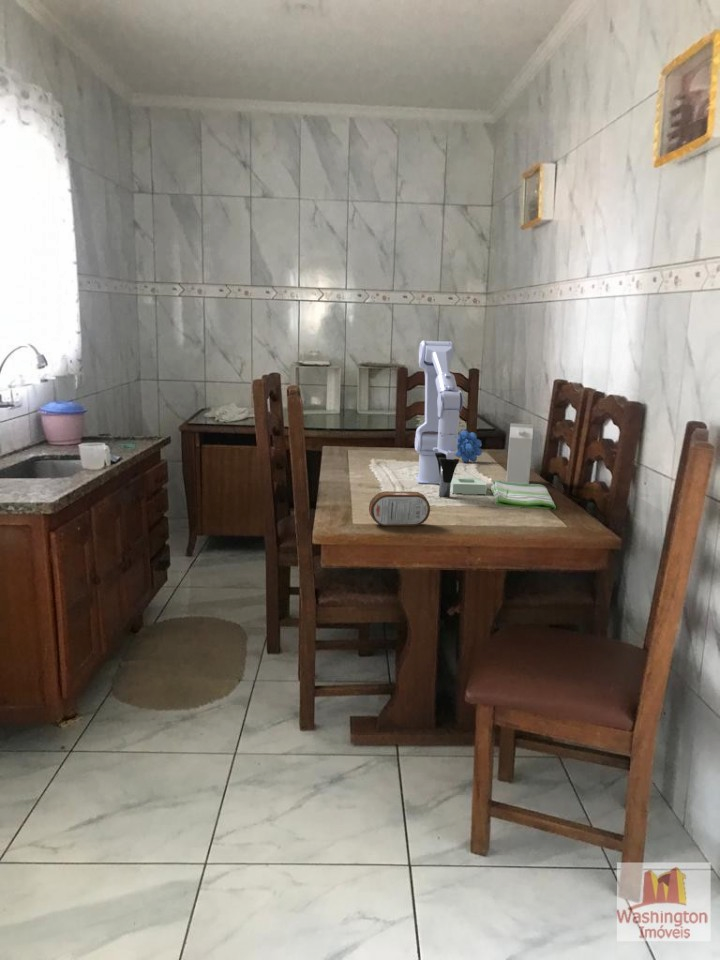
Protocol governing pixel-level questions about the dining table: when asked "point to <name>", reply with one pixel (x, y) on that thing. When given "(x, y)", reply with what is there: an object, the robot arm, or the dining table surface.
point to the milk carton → (519, 453)
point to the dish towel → (521, 495)
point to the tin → (399, 508)
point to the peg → (444, 486)
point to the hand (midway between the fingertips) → (445, 479)
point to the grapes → (468, 446)
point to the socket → (468, 485)
